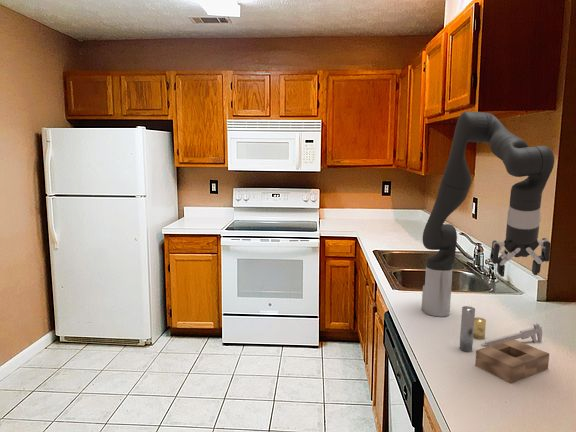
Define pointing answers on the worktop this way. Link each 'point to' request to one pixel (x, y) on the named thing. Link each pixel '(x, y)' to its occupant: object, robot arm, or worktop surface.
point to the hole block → (512, 360)
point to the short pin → (479, 328)
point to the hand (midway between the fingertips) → (517, 274)
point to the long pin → (467, 328)
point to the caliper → (519, 336)
